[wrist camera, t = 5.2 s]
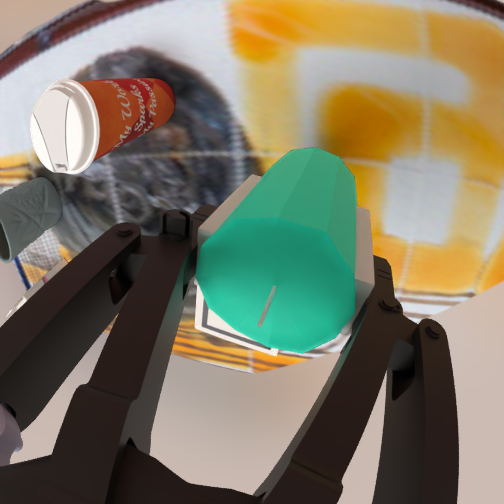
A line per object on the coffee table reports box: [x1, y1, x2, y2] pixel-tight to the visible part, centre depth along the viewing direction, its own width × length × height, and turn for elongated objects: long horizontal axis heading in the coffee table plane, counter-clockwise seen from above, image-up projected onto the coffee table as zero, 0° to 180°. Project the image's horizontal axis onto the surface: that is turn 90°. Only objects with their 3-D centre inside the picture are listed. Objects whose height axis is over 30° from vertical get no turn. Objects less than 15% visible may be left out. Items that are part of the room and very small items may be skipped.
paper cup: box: [30, 78, 175, 174], centre depth 23 cm, size 8×8×14 cm
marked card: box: [195, 285, 279, 356], centre depth 41 cm, size 13×13×1 cm
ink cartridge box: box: [6, 258, 68, 317], centre depth 44 cm, size 9×5×15 cm, turn 125°
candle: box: [196, 147, 357, 354], centre depth 14 cm, size 6×6×12 cm
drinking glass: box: [0, 177, 62, 263], centre depth 36 cm, size 10×10×12 cm
